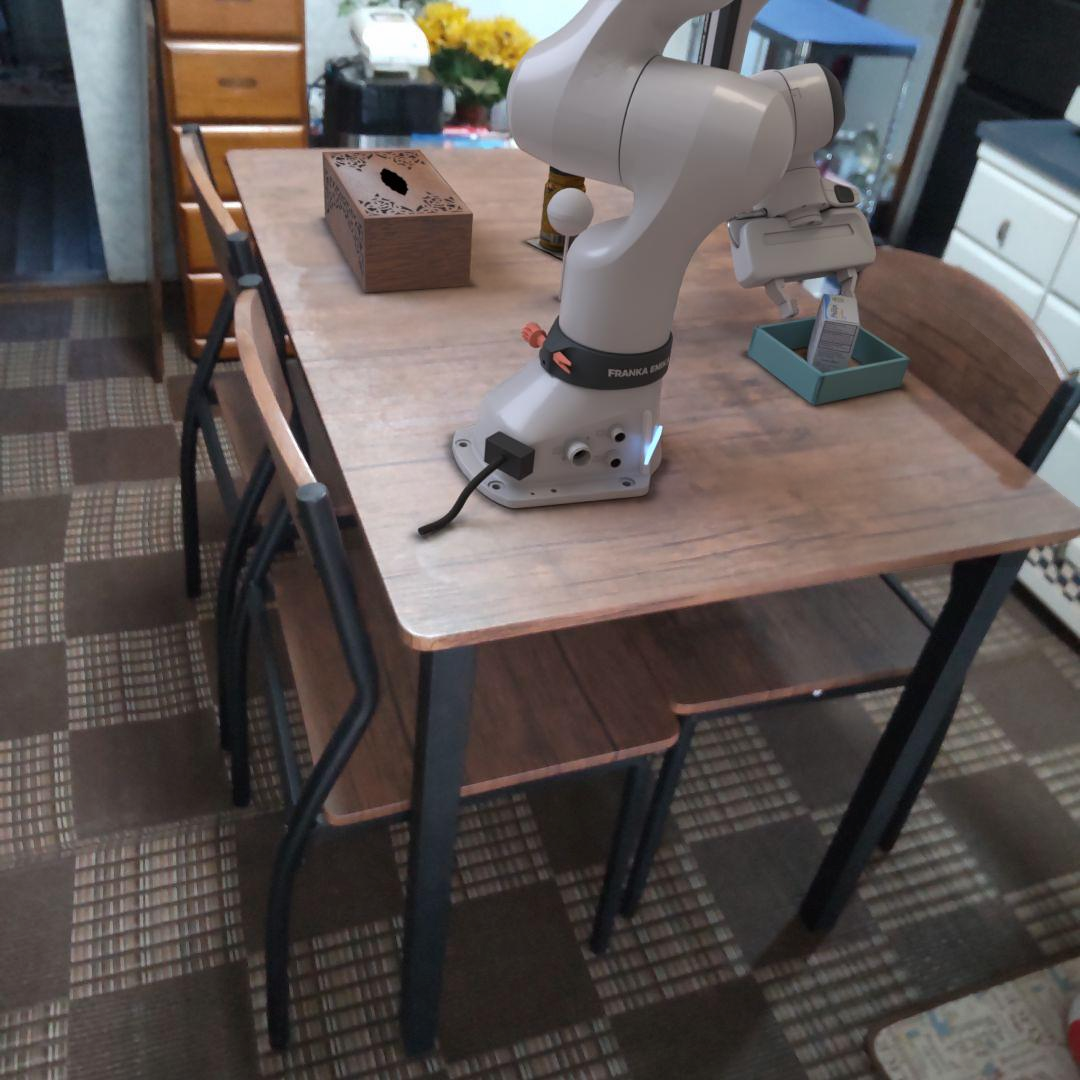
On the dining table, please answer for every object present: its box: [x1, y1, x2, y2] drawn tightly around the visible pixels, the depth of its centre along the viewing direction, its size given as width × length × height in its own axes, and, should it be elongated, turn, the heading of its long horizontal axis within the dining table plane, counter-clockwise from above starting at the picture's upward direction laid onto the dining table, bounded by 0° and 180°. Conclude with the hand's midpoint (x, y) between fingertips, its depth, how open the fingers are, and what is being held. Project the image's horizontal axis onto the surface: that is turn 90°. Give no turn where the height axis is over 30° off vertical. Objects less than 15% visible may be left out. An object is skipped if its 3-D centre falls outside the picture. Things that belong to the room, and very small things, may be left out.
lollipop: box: [547, 188, 595, 301], centre depth 131 cm, size 6×6×15 cm
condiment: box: [526, 165, 587, 260], centre depth 146 cm, size 7×8×12 cm
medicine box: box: [806, 293, 861, 373], centre depth 124 cm, size 8×4×9 cm, turn 168°
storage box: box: [747, 315, 911, 406], centre depth 125 cm, size 14×13×4 cm
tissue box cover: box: [321, 149, 474, 294], centre depth 140 cm, size 26×14×10 cm, turn 21°
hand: (820, 311), depth 124 cm, fingers open, 8 cm apart
